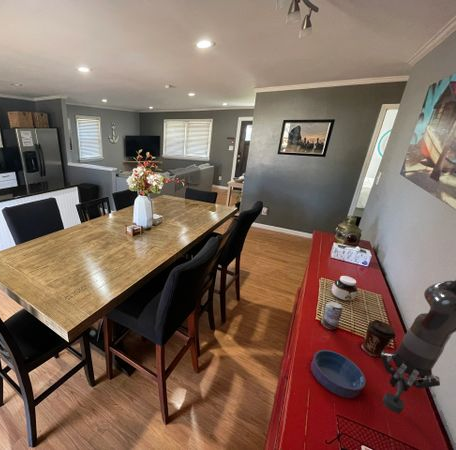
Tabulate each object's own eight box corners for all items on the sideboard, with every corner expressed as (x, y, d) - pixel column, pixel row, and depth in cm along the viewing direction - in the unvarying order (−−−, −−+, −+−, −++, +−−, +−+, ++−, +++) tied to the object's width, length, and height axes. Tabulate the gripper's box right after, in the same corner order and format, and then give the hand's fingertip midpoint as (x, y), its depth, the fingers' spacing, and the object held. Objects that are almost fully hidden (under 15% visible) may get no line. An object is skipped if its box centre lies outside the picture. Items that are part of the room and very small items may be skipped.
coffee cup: (361, 338, 105) (372, 315, 100) (386, 351, 100) (399, 327, 95) (356, 348, 100) (367, 325, 95) (382, 362, 94) (395, 338, 89)
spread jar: (332, 299, 129) (339, 281, 125) (326, 287, 139) (332, 270, 135) (359, 304, 126) (367, 286, 121) (350, 291, 136) (358, 274, 131)
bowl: (363, 378, 88) (368, 369, 86) (356, 409, 78) (361, 399, 76) (316, 352, 98) (320, 343, 96) (305, 376, 88) (308, 367, 86)
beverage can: (323, 330, 109) (331, 309, 104) (317, 318, 116) (324, 298, 111) (338, 333, 108) (347, 312, 103) (332, 321, 114) (340, 301, 110)
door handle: (401, 416, 71) (410, 401, 68) (381, 405, 74) (390, 390, 71) (403, 381, 81) (411, 367, 78) (386, 372, 84) (393, 358, 81)
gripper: (388, 340, 72) (367, 380, 78) (457, 371, 62) (428, 413, 69) (389, 327, 76) (370, 365, 83) (454, 354, 67) (427, 394, 74)
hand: (397, 387), depth 76 cm, fingers closed on door handle, 1 cm apart
